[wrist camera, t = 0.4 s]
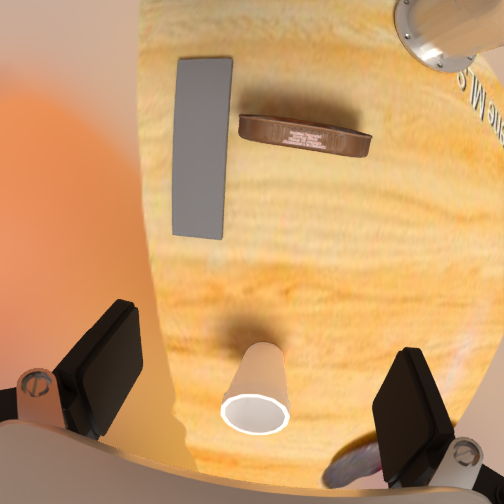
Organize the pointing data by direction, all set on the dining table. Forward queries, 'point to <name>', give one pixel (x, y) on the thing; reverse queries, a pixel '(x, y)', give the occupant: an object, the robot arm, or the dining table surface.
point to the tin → (304, 135)
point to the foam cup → (258, 392)
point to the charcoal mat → (200, 147)
